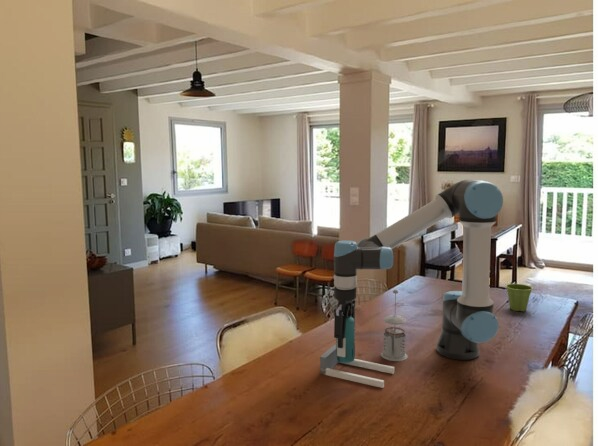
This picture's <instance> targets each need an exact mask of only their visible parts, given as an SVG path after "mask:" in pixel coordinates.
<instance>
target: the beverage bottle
mask: <svg viewBox="0 0 598 446" xmlns="http://www.w3.org/2000/svg"><path fill="white" fill-rule="evenodd" d="M349 314H351V308H350V309H349V312H348V315H349ZM344 316H345V315H344ZM354 321H355V322H356V319H355V320H354V319H353V318H352V317H351V316H348V318H347V319H346V326H345V336H344V338H346V346H345V357H340V356H337V360H338V361H339V362H343V363H342V364H344V363H350V362H353V361H354V359H356V345H355V344H356V342H355V341H356V339H355V335H356V332H354V331H356V329H355V328H354ZM354 329H355V330H354ZM335 341H336V342H335V344H336V352H337V338H335Z"/></svg>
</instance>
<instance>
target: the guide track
mask: <svg viewBox="0 0 598 446" xmlns="http://www.w3.org/2000/svg"><path fill="white" fill-rule="evenodd" d="M319 361H320V362H319V365H320V366H319V369H320V370H319V374H320V375H325V376H327V377H328V376H329V377H334V378H337V379H342V380H345V381H346V380H347V381H351V382H355V383H358V384H364V385H367V386H373V387H377V388H382V389H383V388H384V387H385V380H383V379H380V378H374V377H371V376H367V375H361V374H356V373H352V372H347V371H343V370H338V369H333V368H335V367H336V365H338V364H344V365H349V366H354V367H359V368H362V369H369V370H372V371H377V372H382V373H388V374H392V375H394V373H395V366H391V365H386V364H382V363H376V362H372V361H367V360H364V359H362V360H361V359H359V358H358V359H357V358H355V359H354V361H353V362H350V363H343V362H339V361H338V360H337V352H336V343H335V344H333V345H332V346H331V347H330V348H328V349H327V350H326V351H325V352H324V353H323V354H321V356H320V357H319Z"/></svg>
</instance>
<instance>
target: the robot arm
mask: <svg viewBox="0 0 598 446" xmlns="http://www.w3.org/2000/svg"><path fill="white" fill-rule="evenodd" d="M434 197H435V199H433V200H431V201H430V202H428V203H427V204H424V205H423V206H422V207H419V208H418V209H416V210H415V211H413V212H411V213H409V214H407V216H404V217H403V218H401V219H399V220H397V221H396V222H394V223H393V224H391V225H390V226H388V227H386V228H384V229H383V230H381V231H379V232H377V233H376V234H373V235H372V236H371V237H369V238H363V239H361V240H359V241H358V242H356V241H355V240H345V239H344V240H343V239H342V240H339V241H336V242H335V244H334V252H333V268H334V269H333V277H332V279H333V280H334V281H333V285H334V287H333V298H334V299H335V300H337V301H338V302H337V308H335V309H333V315H334V320H333V321H334V323H333V324H334V327H333V331H334V332H333V333H334V334H333V335H334V336H333V337H334V338H335V339H336V338H337V356H340V357H345V346H346V338H344V336H345V326H346V319H347V318H348V316H351V317H352V318H353V319H354V320H355V321H354V330H355V331H356V298H357V283H358V282H357V281H358V278H357V277H358V275H357V270H359V271H360V270H381V271H382V270H389V269H392V267H393V265H394V251H393V250H394V248H397V246H399V245H402V244H403V243H405V242H406V241H408V240H410V239H412V238H413V237H415V236H417V235H419V234H420V233H422V232H423V231H425V230H427V229H429V228H431V227H432V226H434V225H436V224H437V223H439V222H440V221H442V220H444V219H446V218H449V219H451V218H453V217H455V216H458V221H459V222H460V224H461V225H462V226H463V233H462V235H463V237H462V238H463V239H462V241H463V243H462V247H463V248H462V283H461V290H452V291H451V290H449V291H446V292H444V293H443V297H442V318H441V319H442V321H441V323H442V326H441V331H440V334H439V337H438V340H437V342H436V352H438V354H439V355H442V356H443V357H445V358H449V359H452V360H458V361H459V360H460V361H467V360H474V359H476V358H478V357H479V355H480V348H479V344H484V343H487V342H489V341H491V339H492V338H494V337H495V336H496V335H497V333H498V331H499V328H500V327H499V320H498V319H497V316H496V315H495V314H494V300H492V299H491V297H490V275H491V274H490V273H491V272H490V271H491V243H492V242H491V237H492V227H493V226H494V225H495V224H496V223H497V218H498V217H497V215H498V214H499V212H500V211H501V210H502V208H503V205H504V197H503V193H502V192H501V190H500V188H498V186H497V185H495V184H494V183H492V182H489V181H487V180H481V179H480V180H476V179H475V180H474V179H464V180H463V179H462V180H459V181H458V182H455V184H453V185H451V186H449V187H447V188H446V189H444V190H443V191H441V192H439V193H438V194H436V195H435V196H434ZM350 308H351V314H349V315H348V312H349V309H350ZM344 315H345V316H344ZM355 331H354V332H355ZM355 333H356V332H355Z"/></svg>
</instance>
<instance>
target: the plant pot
mask: <svg viewBox="0 0 598 446" xmlns="http://www.w3.org/2000/svg"><path fill="white" fill-rule="evenodd" d="M505 287H506V291H507V296H508V303H509V309H510V310H511V311H515V312H519V311H520V312H526V311H527V308H528V304H529V300H530V296H531V292H532V290H534V288H533V287H532V286H530V285H528V284H523V283H522V284H520V283H507V284H505Z"/></svg>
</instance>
